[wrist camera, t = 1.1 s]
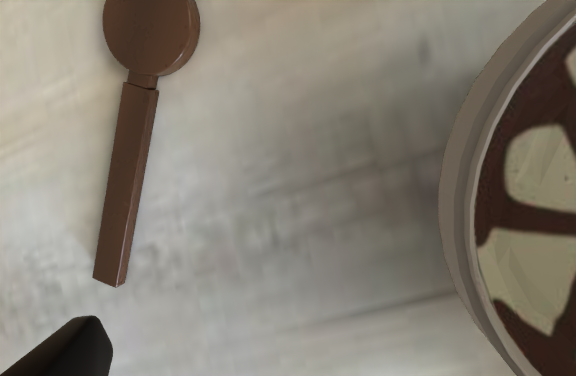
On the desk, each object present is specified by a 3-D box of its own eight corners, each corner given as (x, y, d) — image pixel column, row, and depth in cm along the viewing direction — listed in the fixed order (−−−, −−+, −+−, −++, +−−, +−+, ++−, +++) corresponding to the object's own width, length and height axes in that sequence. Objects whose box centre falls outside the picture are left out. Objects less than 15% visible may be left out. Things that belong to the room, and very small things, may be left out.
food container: (419, 32, 19) (414, -44, 9) (590, 0, 17) (806, -138, 7) (445, 311, 20) (464, 491, 11) (603, 310, 18) (791, 526, 9)
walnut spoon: (210, -16, 21) (200, -22, 20) (149, 293, 25) (138, 300, 24) (123, -36, 22) (109, -42, 21) (78, 263, 26) (65, 269, 25)
